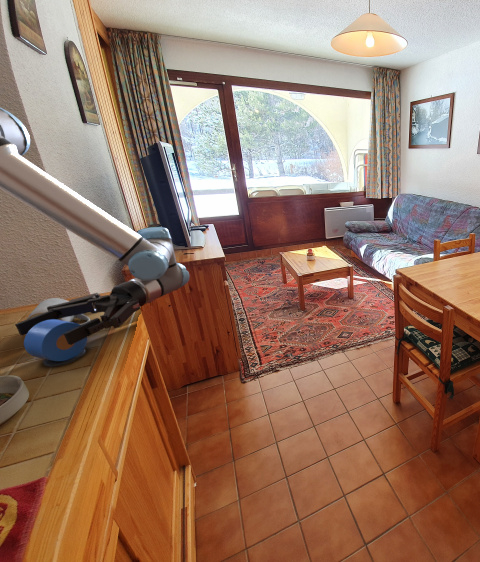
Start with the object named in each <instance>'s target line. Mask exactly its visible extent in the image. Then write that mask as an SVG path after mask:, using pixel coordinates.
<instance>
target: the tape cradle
mask: <svg viewBox="0 0 480 562" xmlns="http://www.w3.org/2000/svg"><path fill="white" fill-rule="evenodd" d="M94 294H99V295H100V296H101V294H100V293H98V292H94V293H90V294H86V295H83V296H79V297H76V298H73V299H68V301H73V300H77V299H81V298H85V297H89V296H91V295H94ZM94 308H95V309H96V307H95V306H94Z"/></svg>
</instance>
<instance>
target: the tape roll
mask: <svg viewBox="0 0 480 562" xmlns="http://www.w3.org/2000/svg"><path fill="white" fill-rule="evenodd" d="M80 324H81V323H77V322H73V321H72V322H68V321H62V320H55V319H52V320H46V321H43V322H40V323H38V324H36V325H35V326H34V327H32V328H31V329H30V330H29V331H28V333H27V334H25V335H24V340H23V347H24V349H25V351H26V353H27V354H29V356H32V357H35V358H38V359H43V360H45V359H48V360H52V361H65V360H68V359H71V358H73V357H75V356H76V355H78V354H79V353H80V352H81V351H82V350H83V348H84V349H85V347H86V345H87V342H88V337H89V336H88V337H86V338H84V339H82V340H80V341H78V342H76V343H74V344H72V345H69V344H68V342H67V340H66V338H65V336H64V333H65V332H67V331H70V330H72V329H74V328H76V327H78V326H80Z"/></svg>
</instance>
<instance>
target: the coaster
mask: <svg viewBox="0 0 480 562" xmlns="http://www.w3.org/2000/svg"><path fill="white" fill-rule="evenodd" d="M85 354H86V348H85V347H84V348H83V350H82V351H81V352H80V353H79V354H78V355H76V356H75V357H73V358H71V359H68V360H65V361H52V360H48V359H43V365H44V366H45V367H48V368H56V367H62V366H65V365H68V364H71V363H73V362H75V361H78V360H79V359H81V358H82V357H83V356H84V355H85Z"/></svg>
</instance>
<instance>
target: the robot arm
mask: <svg viewBox="0 0 480 562" xmlns="http://www.w3.org/2000/svg"><path fill="white" fill-rule="evenodd" d="M30 147H31V138H30V134H29V132H28V129H27V128H26V126H25V125H24V124H23V122H22V121H21V120H20V119H19V118H18V117H17V116H16V115H14V114H13V113H11V112H10V111H8V110H7V109H5V108H2V107H0V190H1V191H3V193H6V194H7V195H8V196H10V197H13V198H14V199H16V200H18V202H21V203H22V204H24V205H26V206H27V207H29V208H31V209H32V210H34V211H36V213H37V212H38V213H39V214H41V215H43V216H44V217H46V218H47V219H49V220H51V221H53V222H54V223H56V225H59V226H61V227H63V228H64V229H66V230H68V231H69V232H70V233H73V235H76V236H78V237H79V238H80V239H82V240H84V241H86V242H88V243H89V244H90V245H93V246H94V247H96V248H97V249H99V250H101V251H102V252H104V253H106V254H107V255H109V256H111V257H113V258H114V259H116V260H118V261H119V262H121V263H122V264H123V265H125V266H127V267H128V271H129V272H130V274H131V276H133V277H134V278H132V279H129V280H128V281H125V282H122V283H120V284H117V285H115V286H113V287H112V289H111V292H110V294H107V295H106V294H105V295H102V296H101V294H100V293H98V294H94V293H93V294H94V295H91V296H89V297H85V298H81V299H77V300H73V301H69V300H68V301H69V302H65V303H61V304H57V305H53V306H49V307H47V310H48V312H45V313H43V314H40V315H37V316H35V317H32V318H30V319H27V318H26V319H25V320H22V321H19V322H17V323H15V324H14V325H15V327H16V330H17V331H18V333H19V335H20V336H26V334H27V333H28V331H29V330H30V329H31V328H32V327H34V326H35V325H36V324H38V323H40V322H43V321H46V320H52V319H55V320H58V319H60V318H64V317H69V316H74V315H79V314H83V315H85V314H89V313H91V314H98V313H103V314H102V315H99V317H100V318H98V317H96V318H93V319H92V320H91V319H90V321H89V322H87V321H86V322H87V323H86V322H84V323H85V324H83V323H82V324H83V325H80V326H78V327H76V328H74V329H72V330H70V331H67V332H65V333H64V336H65V338H66V340H67V342H68V344H69V345H72V344H74V343H76V342H78V341H80V340H82V339H84V338H86V337H90V336H93V335H94V334H97V333H99V332H100V331H103V330H104V329H105V330H107V329H110V328H113V329H119V328H120V327H121V326H122V325H123V324H125V322H126V321H127V320H129V319H130V318H131V317H132V315H134V314H135V313H136V312H137V311H140V310H141V308H142V307H144V306H145V305H147V304H152V302H154V301H156V300H157V299H160V298H161V297H164V296H166V295H168V294H170V293H173V292H174V291H177V290H179V289H181V288H182V287H184V286H185V285H187V284H188V283H189V282H190V273H189V271H188V270H187V268H186V266H185V265H183V264H182V263H179V262H177V258H176V254H175V250H174V245H173V238H172V236H171V233H170V232H169V229H168V228H167V227H163V226H154V227H145V228H142V229H139V230H138V231H137V232H136V231H134V230H133V229H132V228H130V227H128V226H127V225H125V224H123V223H122V222H121V221H119V220H118V219H116V218H115V217H113V216H112V215H110V214H109V213H107V212H106V211H104V210H103V209H101V208H100V207H98V206H97V205H95V204H94V203H92V202H91V201H90V200H88V199H86V198H85V197H83V196H82V195H80V194H79V193H77V192H76V191H75V190H73V189H71V188H70V187H68V186H66V185H65V183H63V182H61V181H59V180H58V179H57V178H55V177H53V176H52V175H51V174H49V173H47V172H46V171H45V170H43V169H41V168H40V167H39V166H37V165H35V164H34V163H33V162H31V161H30V160H28V159H27V158H25V157H24V155H25V154H26V153H27V152H28V151H29V149H30ZM99 294H100V295H99ZM94 306H95V307H96V309H95V308H94Z"/></svg>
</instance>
